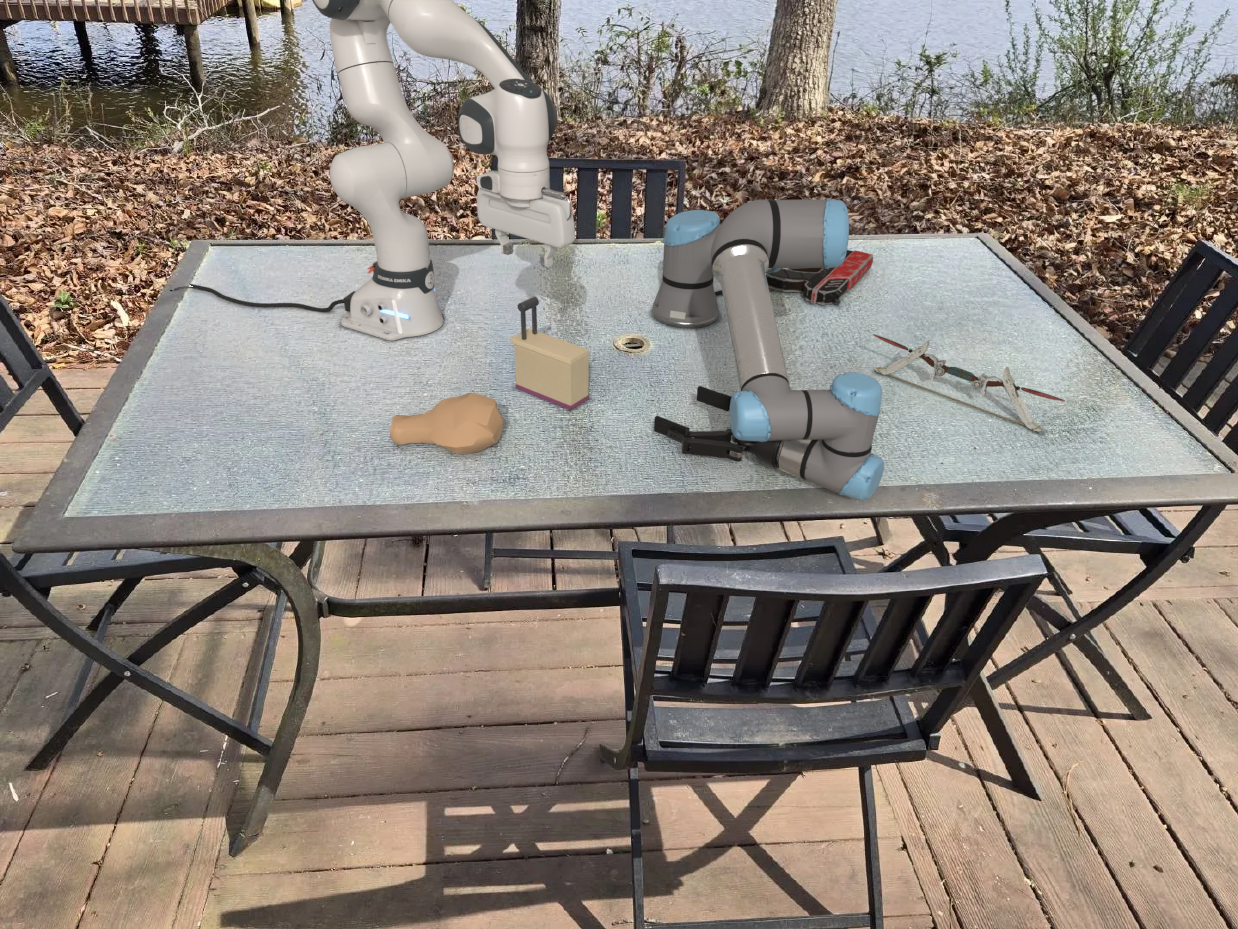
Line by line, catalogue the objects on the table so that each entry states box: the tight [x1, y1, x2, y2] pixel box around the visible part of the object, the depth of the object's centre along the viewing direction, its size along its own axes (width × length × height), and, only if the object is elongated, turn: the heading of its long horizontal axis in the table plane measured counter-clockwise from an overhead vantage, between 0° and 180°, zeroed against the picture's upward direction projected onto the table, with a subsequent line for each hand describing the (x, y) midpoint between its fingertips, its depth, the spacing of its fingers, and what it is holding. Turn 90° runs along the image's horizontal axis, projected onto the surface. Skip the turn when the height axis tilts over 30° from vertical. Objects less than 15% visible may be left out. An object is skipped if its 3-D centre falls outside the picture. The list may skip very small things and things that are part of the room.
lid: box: [509, 296, 590, 365], centre depth 163 cm, size 15×6×8 cm, turn 54°
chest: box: [513, 344, 590, 411], centre depth 168 cm, size 14×6×10 cm, turn 53°
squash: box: [389, 392, 505, 455], centre depth 152 cm, size 11×20×9 cm, turn 90°
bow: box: [872, 333, 1066, 432], centre depth 170 cm, size 39×2×10 cm, turn 47°
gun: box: [765, 249, 874, 306], centre depth 221 cm, size 4×31×19 cm
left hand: (526, 259), depth 159 cm, fingers open, 8 cm apart
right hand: (677, 407), depth 153 cm, fingers open, 13 cm apart
